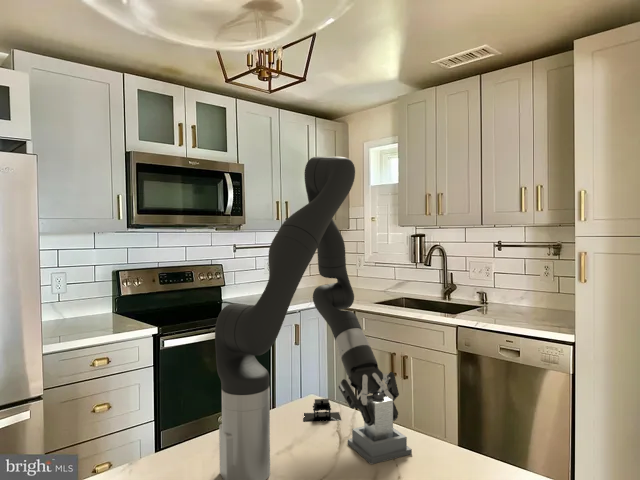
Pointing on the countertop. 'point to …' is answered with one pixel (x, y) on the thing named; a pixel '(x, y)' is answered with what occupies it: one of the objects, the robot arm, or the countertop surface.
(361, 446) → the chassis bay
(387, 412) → the knobbed grey block
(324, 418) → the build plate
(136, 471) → the countertop surface
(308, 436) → the countertop surface
